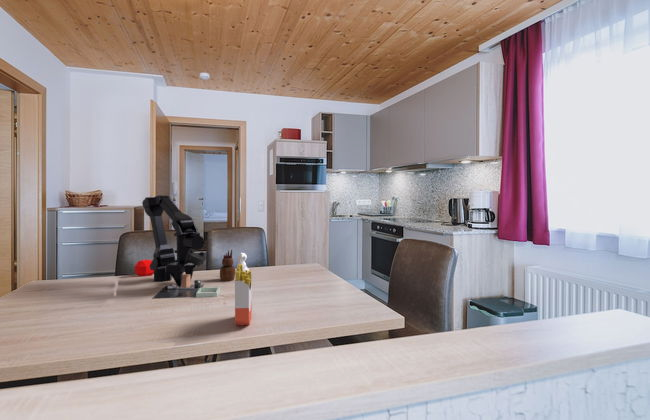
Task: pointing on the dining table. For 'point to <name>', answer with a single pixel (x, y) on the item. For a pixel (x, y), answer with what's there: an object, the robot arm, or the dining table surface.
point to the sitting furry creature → (242, 262)
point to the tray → (208, 289)
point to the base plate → (176, 293)
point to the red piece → (143, 268)
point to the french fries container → (243, 296)
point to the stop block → (185, 280)
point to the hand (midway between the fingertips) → (184, 283)
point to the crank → (196, 287)
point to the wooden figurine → (227, 268)
